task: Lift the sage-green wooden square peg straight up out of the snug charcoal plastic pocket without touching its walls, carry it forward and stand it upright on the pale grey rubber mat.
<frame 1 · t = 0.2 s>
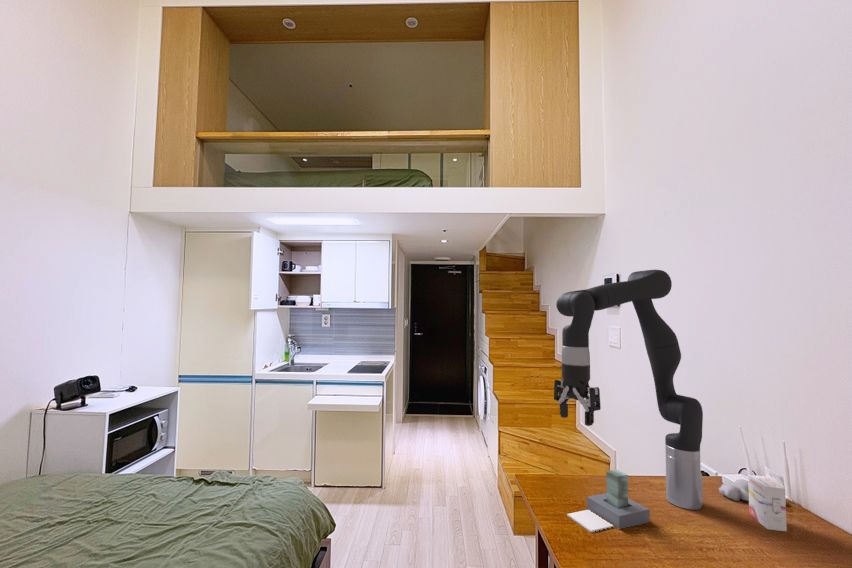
hand: (576, 421, 106), 28 cm above the table, tool pointing down, fingers open, 8 cm apart
peg: (617, 494, 112), in the pocket holder
bunny figurine: (745, 498, 125), on the table
ink cartridge box: (767, 523, 110), on the table
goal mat: (589, 521, 107), on the table
pocket holder: (617, 515, 111), on the table
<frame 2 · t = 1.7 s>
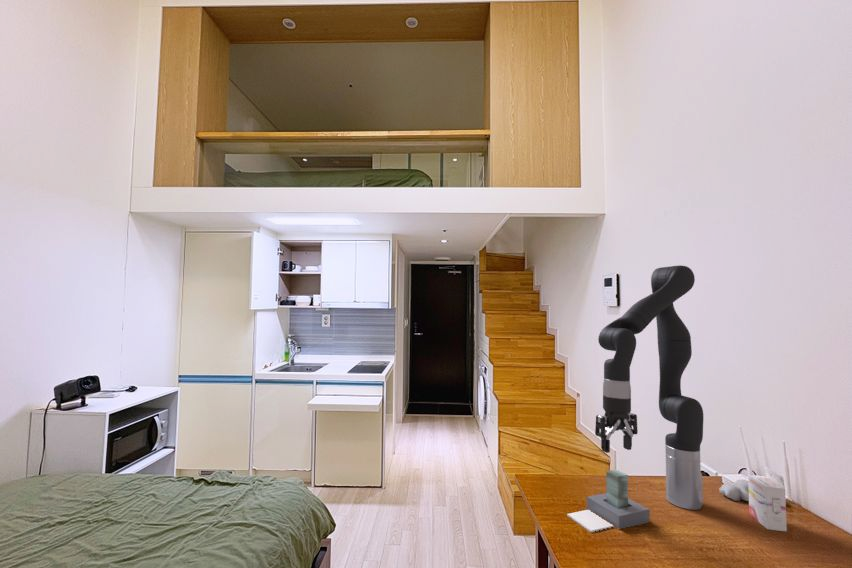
hand: (616, 450, 113), 18 cm above the table, tool pointing down, fingers open, 8 cm apart
nothing on the table moved.
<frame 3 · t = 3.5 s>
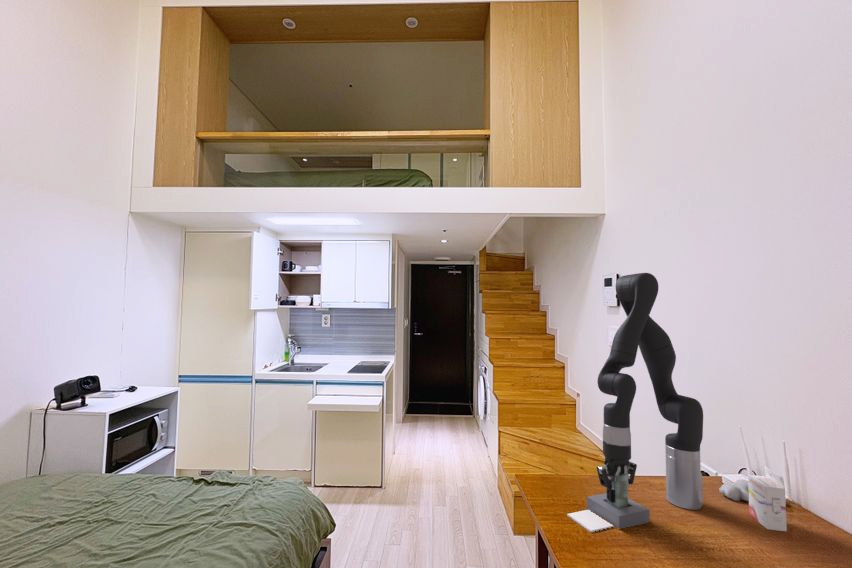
hand: (617, 500, 112), 4 cm above the table, tool pointing down, fingers closed on peg, 4 cm apart
peg: (617, 494, 112), in the pocket holder, touching gripper
everything else where it was.
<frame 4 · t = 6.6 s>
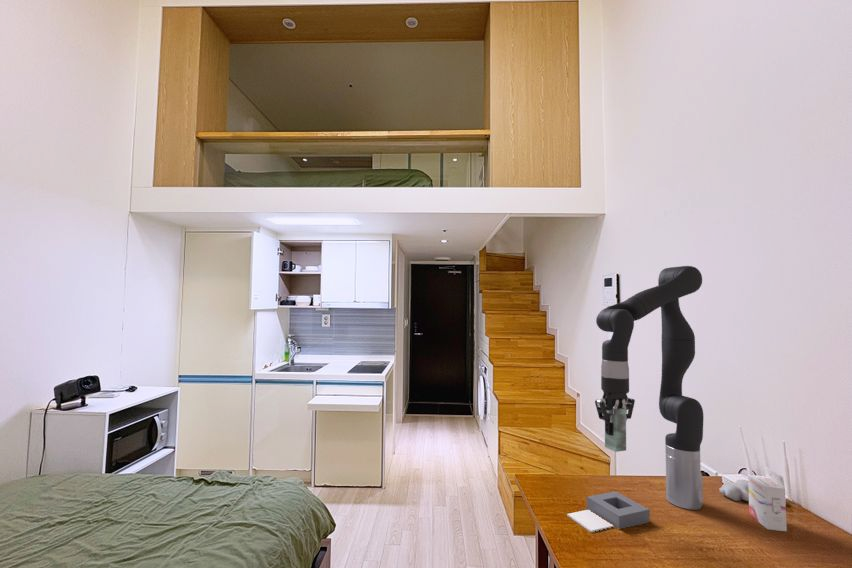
hand: (615, 433, 113), 23 cm above the table, tool pointing down, fingers closed on peg, 4 cm apart
peg: (615, 427, 113), point 25 cm above the table, touching gripper
everything else where it was.
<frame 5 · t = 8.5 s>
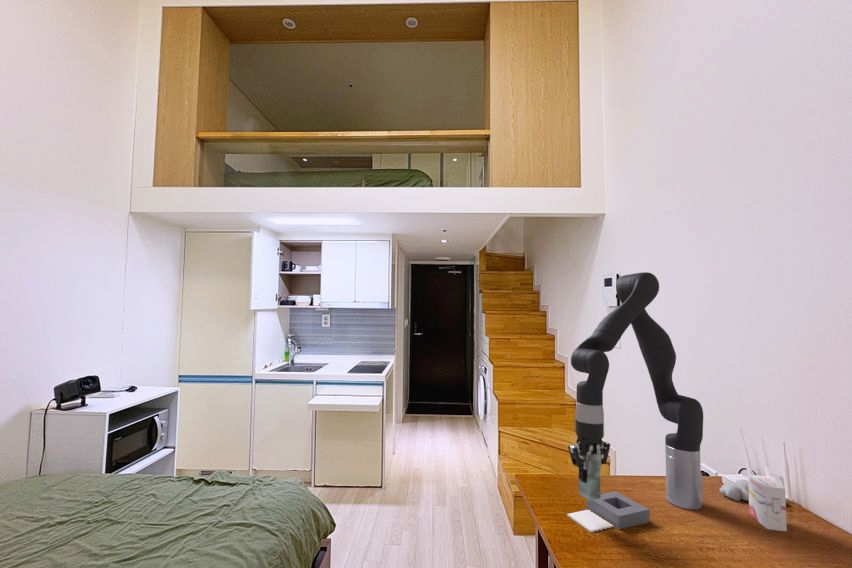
hand: (589, 480, 108), 11 cm above the table, tool pointing down, fingers closed on peg, 4 cm apart
peg: (589, 474, 108), point 13 cm above the table, touching gripper
everything else where it was.
when the fingers open (6 cm above the table, at t = 9.9 s): peg drops 1 cm, resting on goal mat.
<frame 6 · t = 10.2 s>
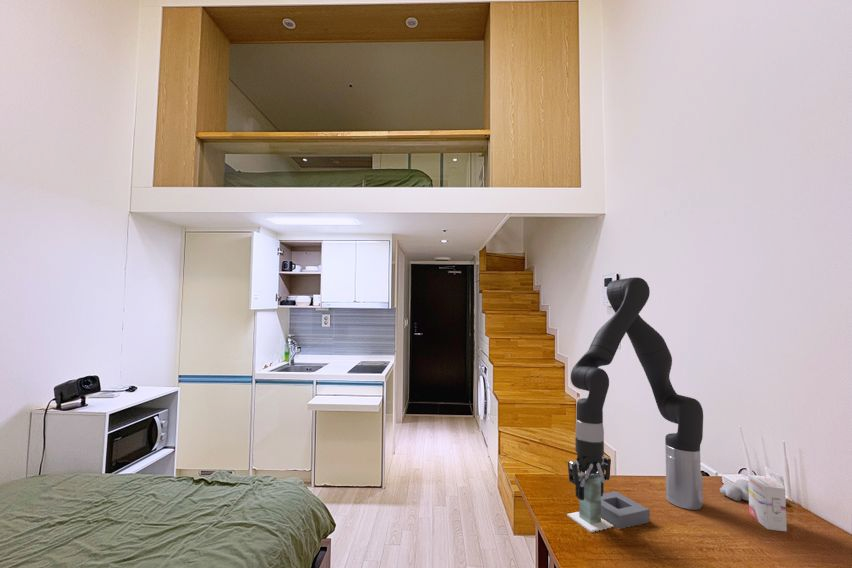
hand: (589, 497, 108), 7 cm above the table, tool pointing down, fingers open, 6 cm apart
peg: (589, 497, 108), on the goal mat
everything else where it was.
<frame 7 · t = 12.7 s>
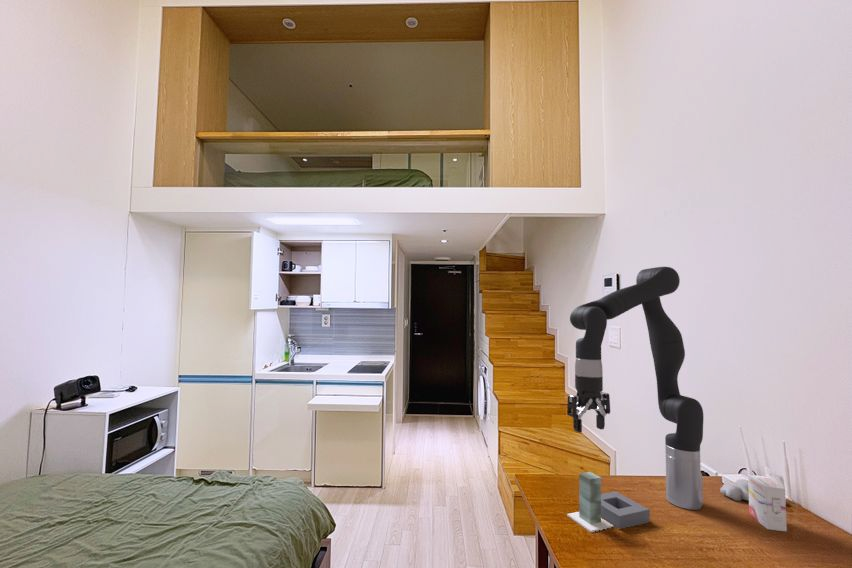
hand: (589, 430, 111), 25 cm above the table, tool pointing down, fingers open, 8 cm apart
nothing on the table moved.
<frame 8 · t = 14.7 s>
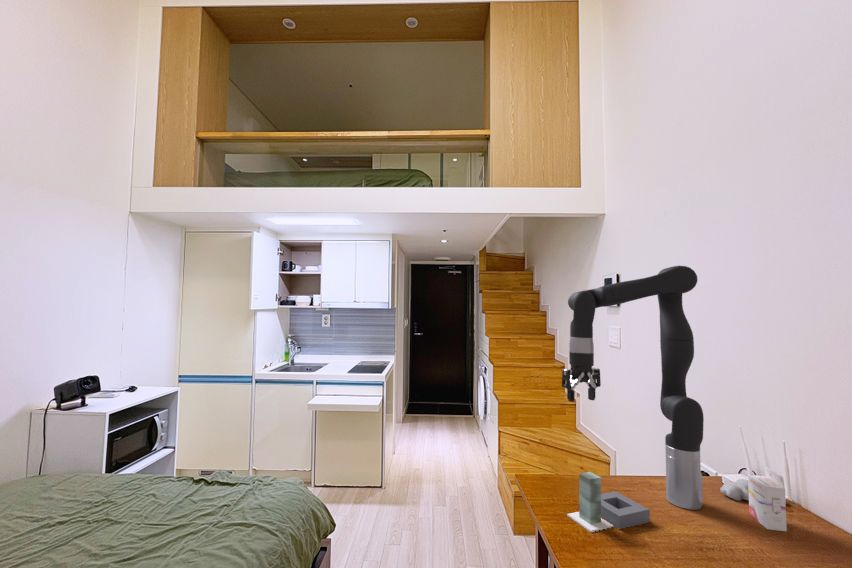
hand: (581, 400, 125), 30 cm above the table, tool pointing down, fingers open, 8 cm apart
nothing on the table moved.
at the end: peg 0.2 cm off-centre on the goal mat, point 6.5 cm above the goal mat's base; peg tilted 0°; the gripper is holding nothing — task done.
